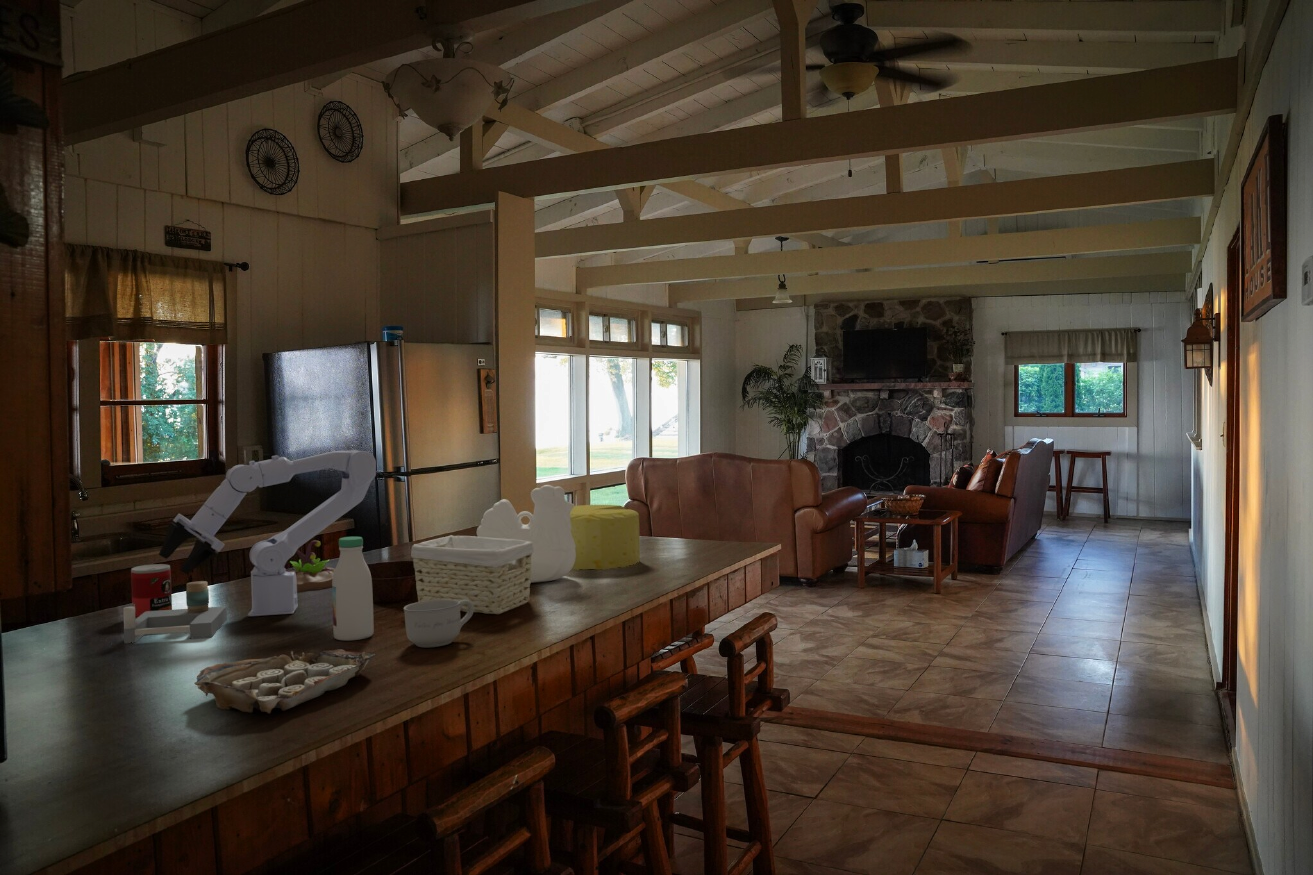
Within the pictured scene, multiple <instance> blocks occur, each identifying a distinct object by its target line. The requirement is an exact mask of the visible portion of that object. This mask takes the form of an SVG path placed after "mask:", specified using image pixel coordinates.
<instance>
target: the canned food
mask: <svg viewBox="0 0 1313 875" xmlns="http://www.w3.org/2000/svg"><path fill="white" fill-rule="evenodd" d="M130 569H131V570H130V582H131V603H132V604H131V606H133V607H135V619H136V618H138V617H139V616H140V615H142V614H143V613H144V612H145V611H160V610H173V604H172V602H173V600H172V597H173V596H172V594H173V593H172V573H171V565H170V564H167V563H165V564H163V563H159V564H157V563H156V564H154V563H153V564H144V565H139V566H138V565H137V566H134V567H132V568H130Z"/></svg>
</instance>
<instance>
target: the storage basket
mask: <svg viewBox="0 0 1313 875" xmlns="http://www.w3.org/2000/svg"><path fill="white" fill-rule="evenodd" d="M533 552H534V548H533V543H532V542H531V541H523V540H514V539H501V538H487V537H478V536H475V535H473V536H471V535H452V534H450V535H448V536H445V537H444V536H443V537H439V538H434V539H431V540H427V541H422V542H420V543H414V544H413V545H412V546H411V552H410V555H411V556H410V557H411V559H412V562H413V568H414V575H415V577H414V578H415V581H416V582H415V583H416V584H415V586H416V587H415V588H416V593H417V600H418V601H417V602H422V601H430V600H442V599H451V600H457V601H461V600H469V601H470V602H471V603H472V604H473V607H474V612H473V613H483V614H485V615H486V614H488V615H489V614H490V615H500V614H502V613H505V612H508V611H509V610H513V609H515V608H518V607H520V606H523V605H525V604H527V603H528V602H529V601H530V592H531V588H530V586H531V581H530V577H531V569H530V568H531V557H532V556H531V555H532V553H533ZM460 612H462V613H463V612H465V613H467V612H468V606H467V605H463V606H462V607H461V609H460Z"/></svg>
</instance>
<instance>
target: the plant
mask: <svg viewBox="0 0 1313 875" xmlns="http://www.w3.org/2000/svg"><path fill="white" fill-rule="evenodd" d="M313 544H314V546H315V547H317V548H319V547H320V546H321V545H322V544H321V541H319V540H316V539H315V540H311V541H310V542H309V543H308V545H307V548H306V551H305V554H304V553H302V552H301V551H300V550H297V551H296V552H295V554H297V556H299V558H300V559H299V560H298V562H297V561H293V560H290V561H289V563H290V564H292V565H291V566H292V567H293V568H292V569H291V570H286V572H295V573H296V580H297V593H298V592H304V591H312V590H323V589H329V588H332V580H333V574H334V571H335V568H336V567H335V568H333V567H331V566H330V567H329V566H326V564H327V563H329V561H330V559H327V560H322V561H321V558H319V557H317V555H316V554H315V552H313V551H312V550H311V548H312V545H313ZM316 557H317V558H316Z"/></svg>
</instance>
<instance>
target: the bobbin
mask: <svg viewBox="0 0 1313 875" xmlns="http://www.w3.org/2000/svg"><path fill="white" fill-rule="evenodd" d="M185 597H186V598H185V599H186V606H187V609H188V613H201V612H206V611H208V610H209V609H208V607H209V604H210V593H209V586H208V581H206V580H205V581H204V580H200V581H199V580H198V581H191V582H187V583H186V590H185Z"/></svg>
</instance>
